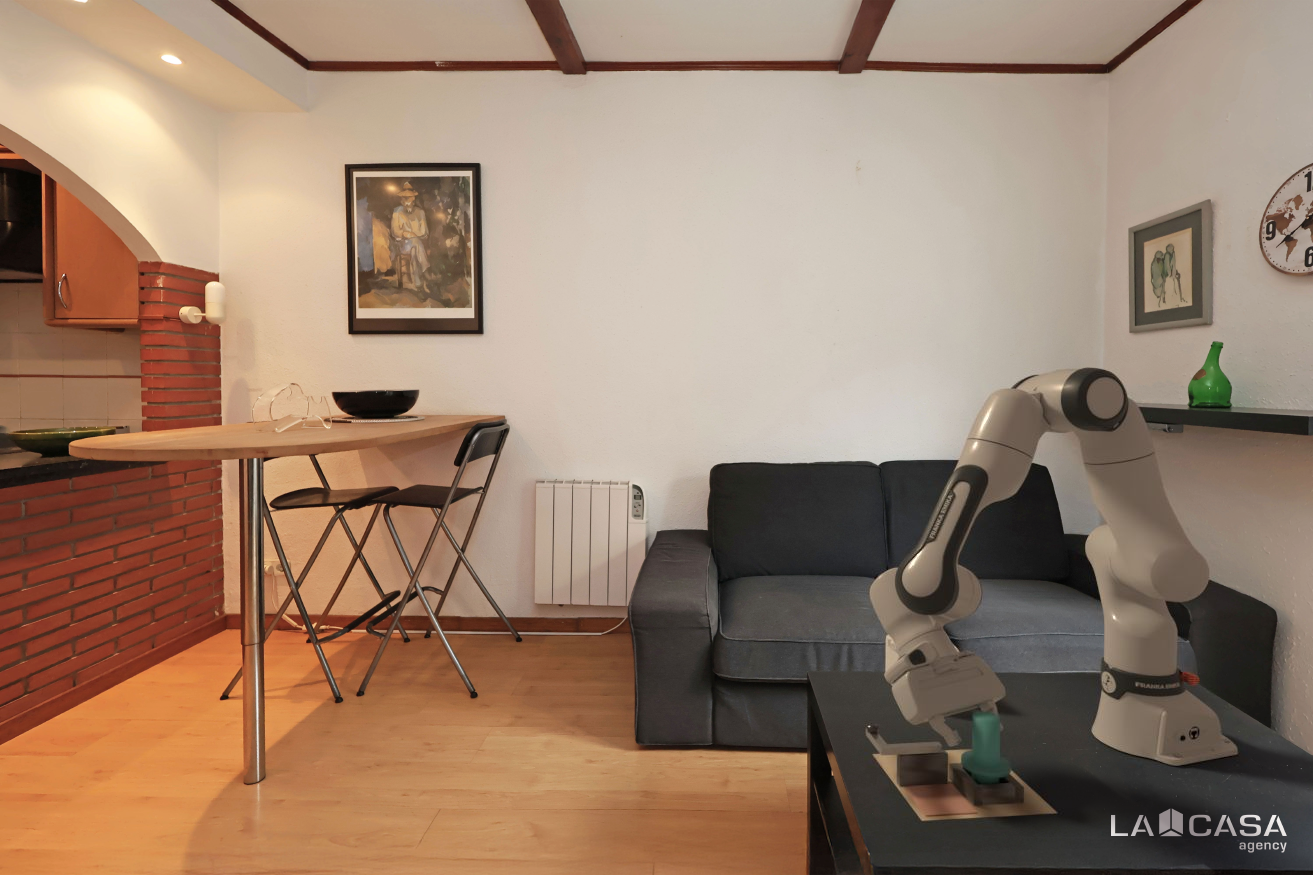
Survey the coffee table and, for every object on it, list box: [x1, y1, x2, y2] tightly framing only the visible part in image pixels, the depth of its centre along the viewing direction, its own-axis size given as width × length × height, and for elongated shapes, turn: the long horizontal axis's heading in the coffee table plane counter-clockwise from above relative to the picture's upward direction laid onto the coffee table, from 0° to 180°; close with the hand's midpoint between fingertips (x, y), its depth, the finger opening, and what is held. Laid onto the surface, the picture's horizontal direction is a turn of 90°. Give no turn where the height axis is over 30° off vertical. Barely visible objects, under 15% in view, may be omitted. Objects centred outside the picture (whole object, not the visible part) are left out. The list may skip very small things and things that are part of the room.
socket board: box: [872, 748, 1058, 822], centre depth 119 cm, size 21×20×6 cm
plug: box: [961, 710, 1012, 785], centre depth 116 cm, size 7×7×12 cm
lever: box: [865, 722, 943, 756], centre depth 121 cm, size 10×7×2 cm
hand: (977, 737), depth 117 cm, fingers open, 8 cm apart
